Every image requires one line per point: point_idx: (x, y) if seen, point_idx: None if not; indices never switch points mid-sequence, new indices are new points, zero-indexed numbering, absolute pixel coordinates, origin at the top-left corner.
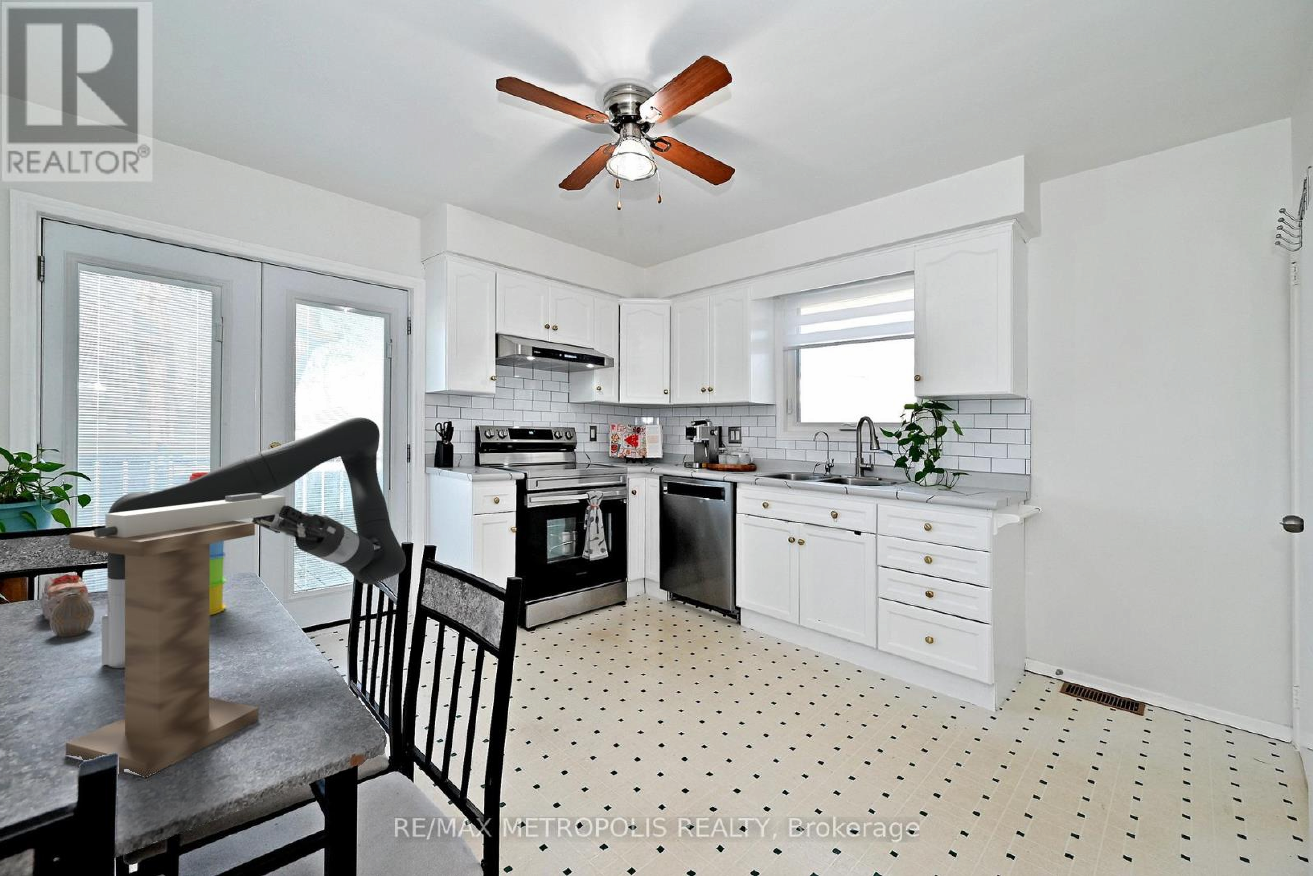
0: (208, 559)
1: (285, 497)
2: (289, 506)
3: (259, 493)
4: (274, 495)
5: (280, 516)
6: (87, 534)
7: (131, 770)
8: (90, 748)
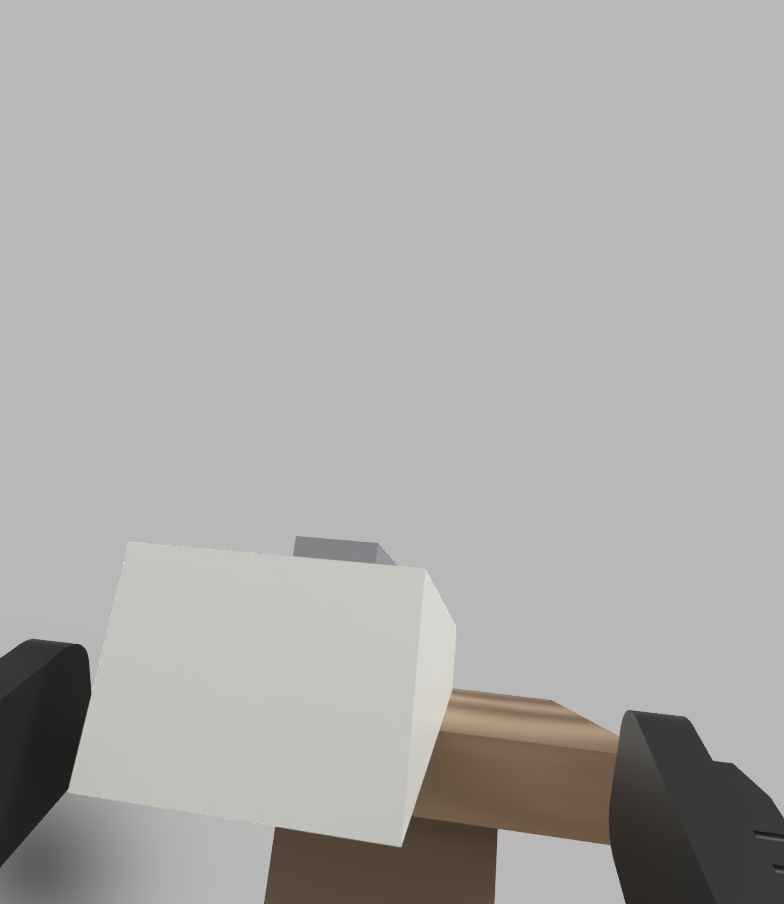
0: (270, 869)
1: (125, 559)
2: (11, 653)
3: (307, 538)
4: (303, 559)
5: (66, 761)
6: (503, 695)
7: None
8: None
